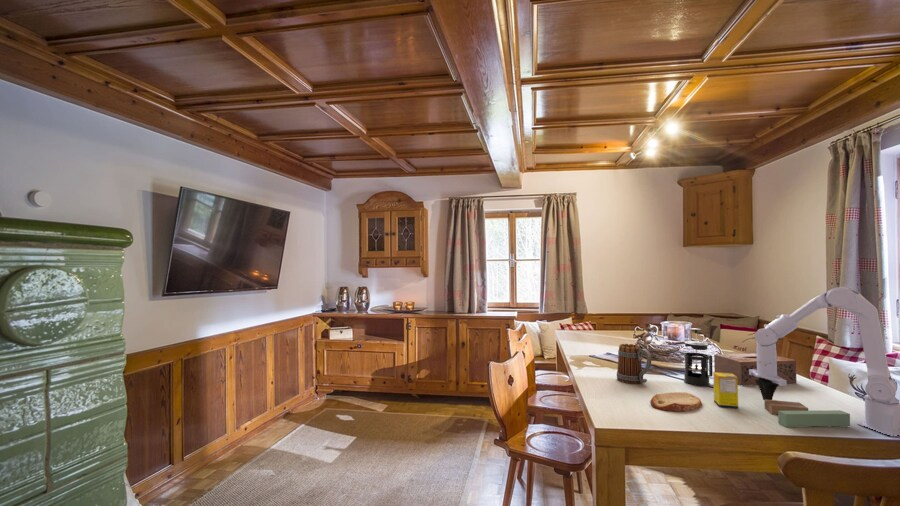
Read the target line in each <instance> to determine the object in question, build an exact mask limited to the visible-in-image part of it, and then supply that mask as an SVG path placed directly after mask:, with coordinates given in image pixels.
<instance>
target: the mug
mask: <svg viewBox="0 0 900 506" xmlns="http://www.w3.org/2000/svg"><path fill="white" fill-rule="evenodd" d="M642 353H644V354H645V357H646V364H645V367H644V369H643V365H642V360H644V359H643V356H642ZM617 355H618V356H617V358H618V359H617V371H616V379H617V380H618V381H619V382H621V383H624V384H632V385H633V384H634V385H638V384H644V383H647V381H648V378H644V375H646V374H647V372H649V370H651V369H650V368H651V366H652V355H651V353H650V351H649V350H648V349H646V348H641V347H640V345H638V344H633V343H630V344H629V343H620V344H619V346H618V351H617Z"/></svg>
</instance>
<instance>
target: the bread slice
mask: <svg viewBox="0 0 900 506" xmlns="http://www.w3.org/2000/svg"><path fill="white" fill-rule="evenodd" d="M649 402H650V405H651V407H652V408H653V409H655V410H659V411H662V412H676V413H678V412H679V413H684V412H685V413H686V412H692V411H696V410H698V409H700V408H702V406H703V404H702V400H701V398H699V397H698V396H696V395H694V394H692V393H688V392H682V391H681V392H680V391H679V392H675V391H674V392H666V393H659V394H658V393H656V394H655V395H654V396H652V397H651V399H650V401H649Z"/></svg>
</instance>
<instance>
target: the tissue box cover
mask: <svg viewBox="0 0 900 506" xmlns="http://www.w3.org/2000/svg"><path fill="white" fill-rule="evenodd" d="M713 357H714V358H713V359H714V360H713V361H714V362H713V363H714V368H713V369H714V371H713V372H720V373H732V374H733V375H735V376H736V377H737V381H738V386H741V385H743V386H758V385H757V383H756V382H755V379H759V377H756V376H754V375H749V370H753V369H754V370H757V352H756V353H755V352H754V353H753V352H752V353H721V354H719V353H717V354H713ZM777 376H779V377H781V378H782V379H784V380H787V385H795V384H796V385H797V383H798V381H797V360H795V359H791V358H787V357H783V356H779V355H777Z"/></svg>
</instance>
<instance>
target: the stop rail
mask: <svg viewBox="0 0 900 506" xmlns="http://www.w3.org/2000/svg"><path fill="white" fill-rule="evenodd" d="M777 416H778V419H777V420H778V423H779V425H781V426H783V427H785V426H786V427H785V428H808V427H807V426H840V427H839V428H844V427H843V426H850V427H851V414H850V413H848V412H846V411H843V410H839V409H838V410H835V409H834V410H829V409H828V410H808V411H778V415H777Z"/></svg>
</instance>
